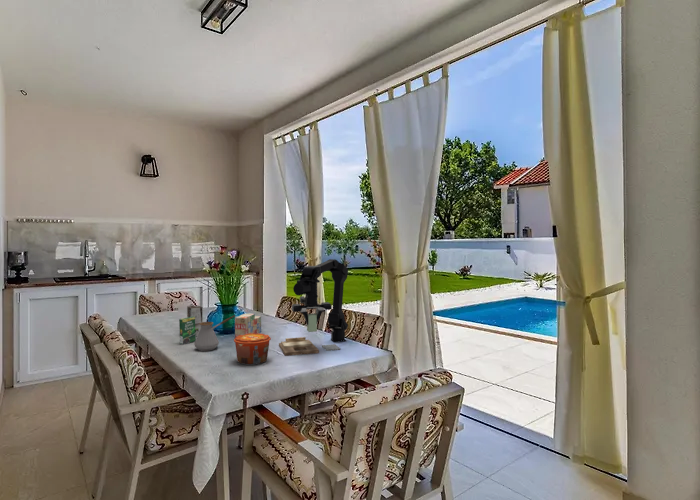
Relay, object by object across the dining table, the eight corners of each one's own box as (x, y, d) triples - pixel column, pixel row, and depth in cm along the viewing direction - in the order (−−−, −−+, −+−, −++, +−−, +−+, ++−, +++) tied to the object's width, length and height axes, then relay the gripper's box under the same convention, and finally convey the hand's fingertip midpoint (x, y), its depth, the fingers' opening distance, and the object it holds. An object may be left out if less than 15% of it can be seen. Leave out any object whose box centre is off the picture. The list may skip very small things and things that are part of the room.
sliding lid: (308, 341, 220) (308, 336, 220) (312, 345, 211) (312, 340, 211) (281, 343, 215) (281, 338, 215) (284, 347, 207) (284, 342, 207)
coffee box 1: (203, 336, 237) (202, 307, 237) (191, 337, 234) (190, 308, 233) (198, 333, 245) (198, 304, 244) (186, 334, 241) (186, 305, 241)
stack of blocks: (251, 331, 250) (251, 310, 249) (261, 332, 248) (261, 310, 248) (234, 340, 229) (234, 317, 228) (245, 340, 227) (245, 317, 227)
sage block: (315, 329, 210) (314, 313, 210) (316, 331, 206) (316, 314, 206) (307, 330, 209) (306, 314, 209) (308, 332, 205) (308, 315, 205)
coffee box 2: (182, 344, 218) (182, 319, 218) (179, 344, 220) (178, 318, 219) (196, 341, 225) (195, 316, 225) (192, 340, 226) (192, 316, 226)
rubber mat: (335, 345, 217) (335, 344, 217) (340, 349, 209) (340, 348, 209) (321, 346, 215) (321, 345, 215) (326, 350, 207) (326, 349, 207)
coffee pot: (199, 353, 202) (199, 321, 202) (190, 348, 211) (190, 318, 210) (241, 346, 216) (241, 316, 216) (231, 341, 225) (231, 313, 224)
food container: (276, 357, 196) (276, 333, 196) (261, 367, 181) (261, 342, 181) (244, 354, 200) (244, 332, 200) (227, 364, 185) (227, 340, 184)
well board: (309, 343, 221) (309, 340, 221) (318, 353, 203) (318, 349, 203) (278, 346, 216) (278, 343, 216) (285, 355, 198) (285, 352, 198)
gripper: (326, 289, 217) (326, 319, 218) (289, 291, 212) (290, 322, 213) (331, 292, 207) (332, 324, 207) (293, 294, 201) (293, 327, 202)
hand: (311, 324), depth 208 cm, fingers closed on sage block, 4 cm apart
